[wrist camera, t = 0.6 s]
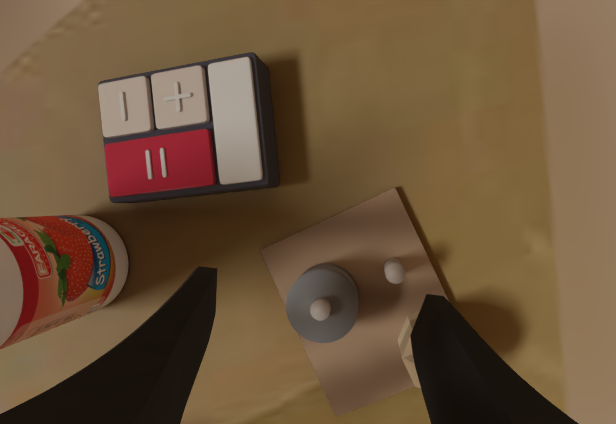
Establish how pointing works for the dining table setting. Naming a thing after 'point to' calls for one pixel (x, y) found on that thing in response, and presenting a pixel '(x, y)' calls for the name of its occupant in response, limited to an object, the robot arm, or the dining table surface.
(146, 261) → the dining table surface
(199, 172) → the red white black box
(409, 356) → the maple gear
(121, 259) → the fruit juice
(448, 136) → the dining table surface
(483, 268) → the dining table surface
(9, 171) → the dining table surface
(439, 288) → the gear board
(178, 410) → the robot arm
